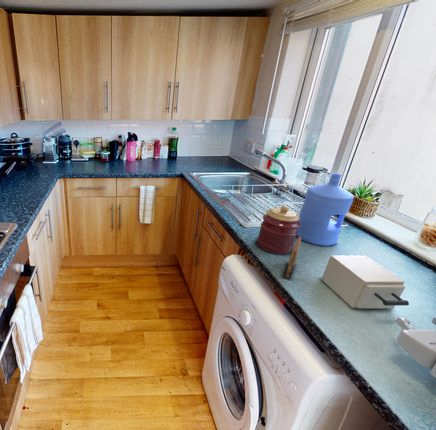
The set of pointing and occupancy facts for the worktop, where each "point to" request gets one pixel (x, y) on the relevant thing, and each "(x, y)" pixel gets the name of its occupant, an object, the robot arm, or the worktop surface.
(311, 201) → the water jug
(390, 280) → the small drawer cabinet
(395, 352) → the worktop surface
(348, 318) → the worktop surface
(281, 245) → the kitchen canister
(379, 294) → the cabinet drawer
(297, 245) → the ammunition clip
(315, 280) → the worktop surface
